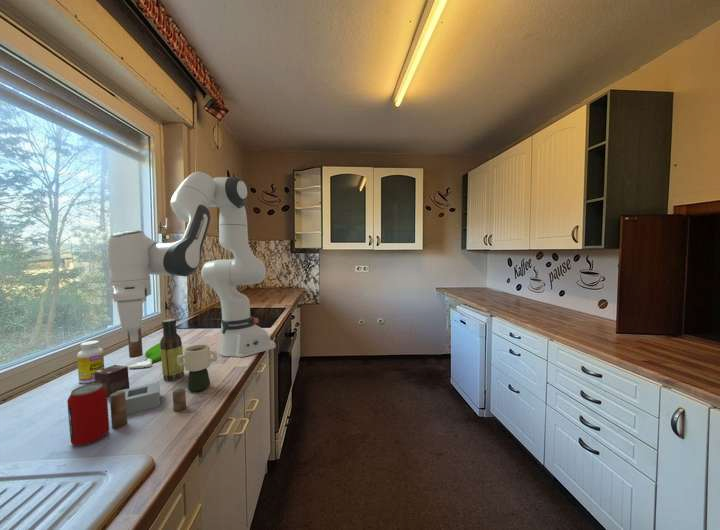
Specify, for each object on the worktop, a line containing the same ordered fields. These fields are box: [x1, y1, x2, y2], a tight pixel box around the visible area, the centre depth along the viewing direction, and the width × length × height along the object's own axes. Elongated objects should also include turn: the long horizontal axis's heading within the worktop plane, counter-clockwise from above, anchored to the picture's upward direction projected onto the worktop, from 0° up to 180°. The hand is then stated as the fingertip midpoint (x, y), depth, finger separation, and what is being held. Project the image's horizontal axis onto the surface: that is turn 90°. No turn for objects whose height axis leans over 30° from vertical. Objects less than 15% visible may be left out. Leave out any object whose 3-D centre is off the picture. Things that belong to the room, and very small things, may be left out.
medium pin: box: [109, 391, 128, 430], centre depth 76 cm, size 3×3×8 cm
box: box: [94, 364, 130, 398], centre depth 94 cm, size 6×6×7 cm
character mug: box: [177, 343, 218, 392], centre depth 95 cm, size 11×7×13 cm, turn 112°
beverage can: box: [67, 382, 110, 446], centre depth 70 cm, size 7×7×12 cm
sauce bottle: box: [159, 318, 185, 382], centre depth 103 cm, size 6×6×20 cm
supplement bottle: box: [76, 340, 105, 384], centre depth 103 cm, size 7×7×13 cm
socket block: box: [117, 381, 161, 416], centre depth 85 cm, size 10×8×4 cm
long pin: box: [126, 326, 144, 359], centre depth 84 cm, size 3×3×11 cm
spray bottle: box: [127, 342, 162, 370], centre depth 124 cm, size 3×11×24 cm
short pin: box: [172, 388, 187, 413], centre depth 83 cm, size 3×3×5 cm
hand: (135, 339), depth 84 cm, fingers closed on long pin, 3 cm apart
